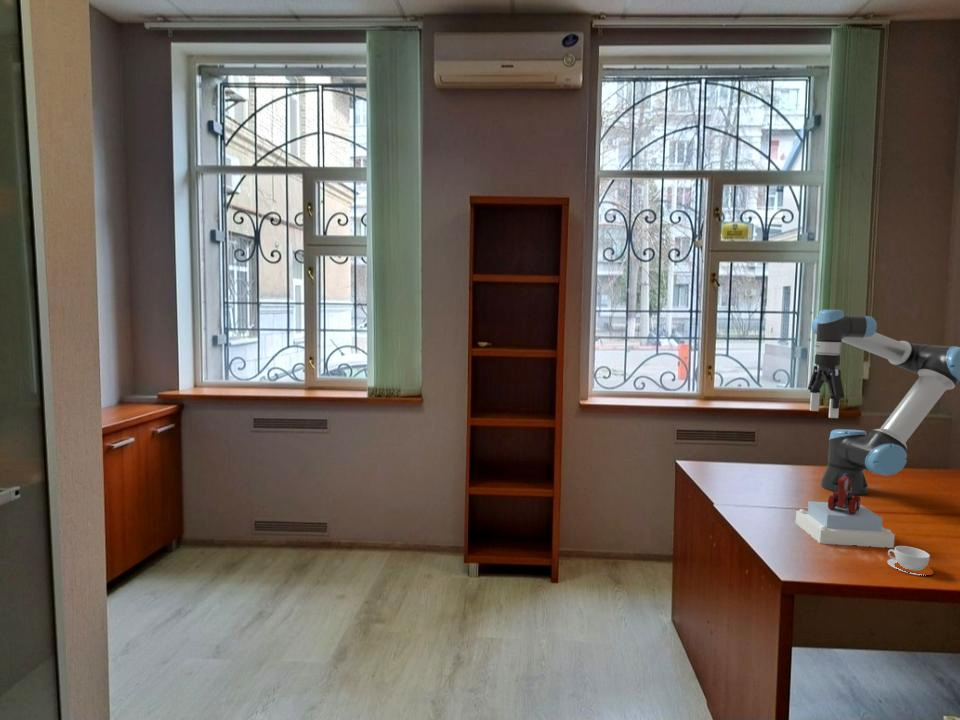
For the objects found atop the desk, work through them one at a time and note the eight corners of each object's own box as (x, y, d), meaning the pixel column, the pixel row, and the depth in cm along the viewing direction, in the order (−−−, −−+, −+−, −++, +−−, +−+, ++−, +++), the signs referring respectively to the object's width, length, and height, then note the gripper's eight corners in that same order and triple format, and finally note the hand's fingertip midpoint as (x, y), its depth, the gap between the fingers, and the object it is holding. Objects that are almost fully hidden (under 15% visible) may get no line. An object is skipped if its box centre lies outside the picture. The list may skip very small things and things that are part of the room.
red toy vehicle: (861, 507, 172) (864, 473, 171) (853, 517, 163) (855, 482, 162) (835, 501, 177) (837, 469, 176) (825, 511, 168) (828, 477, 167)
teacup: (935, 568, 149) (937, 551, 149) (933, 581, 142) (935, 563, 141) (889, 557, 156) (890, 540, 155) (885, 569, 148) (886, 551, 148)
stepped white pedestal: (862, 526, 177) (864, 502, 176) (893, 547, 161) (895, 521, 160) (795, 523, 179) (797, 498, 178) (819, 543, 163) (821, 516, 163)
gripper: (800, 351, 208) (796, 407, 210) (834, 356, 183) (830, 420, 185) (821, 351, 207) (817, 408, 209) (859, 357, 183) (854, 421, 185)
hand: (823, 414), depth 197 cm, fingers open, 13 cm apart
